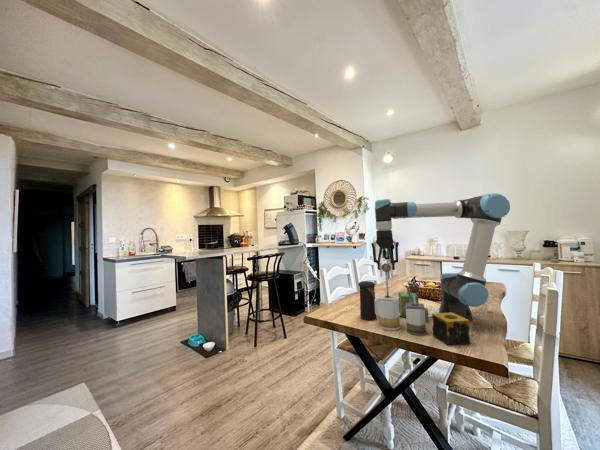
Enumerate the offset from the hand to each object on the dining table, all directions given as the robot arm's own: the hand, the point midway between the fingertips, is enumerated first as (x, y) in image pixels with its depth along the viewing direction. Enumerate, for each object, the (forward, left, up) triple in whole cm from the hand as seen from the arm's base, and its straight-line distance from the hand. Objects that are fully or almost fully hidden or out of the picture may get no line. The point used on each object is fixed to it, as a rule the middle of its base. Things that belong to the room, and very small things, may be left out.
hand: (386, 276), depth 124 cm
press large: (0, 0, -25) cm, 25 cm away
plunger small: (-12, +4, -19) cm, 23 cm away
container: (+11, -9, -25) cm, 29 cm away
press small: (-12, +4, -25) cm, 28 cm away
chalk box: (-10, -19, -25) cm, 33 cm away
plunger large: (0, 0, -11) cm, 11 cm away
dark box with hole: (-25, +9, -25) cm, 37 cm away
